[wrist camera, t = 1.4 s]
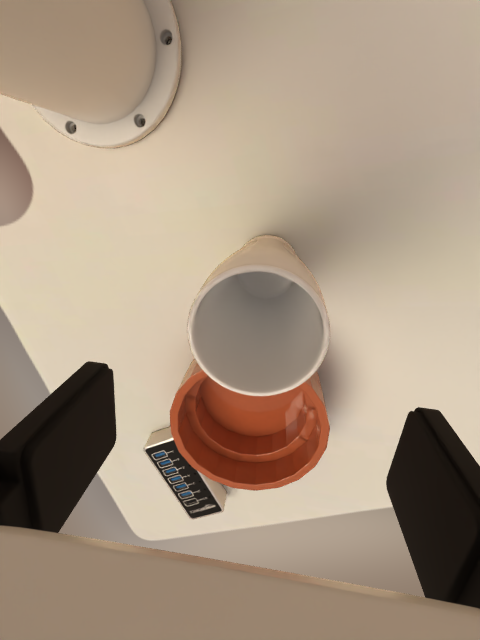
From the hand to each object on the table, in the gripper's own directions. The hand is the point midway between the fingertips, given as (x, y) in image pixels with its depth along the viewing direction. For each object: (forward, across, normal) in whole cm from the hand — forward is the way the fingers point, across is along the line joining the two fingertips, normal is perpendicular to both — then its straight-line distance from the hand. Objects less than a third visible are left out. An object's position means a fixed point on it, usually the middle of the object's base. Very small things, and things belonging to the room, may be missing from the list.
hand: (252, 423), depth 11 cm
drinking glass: (+21, 0, -1) cm, 21 cm away
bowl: (+20, 0, +12) cm, 24 cm away
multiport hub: (+21, +6, +23) cm, 32 cm away
